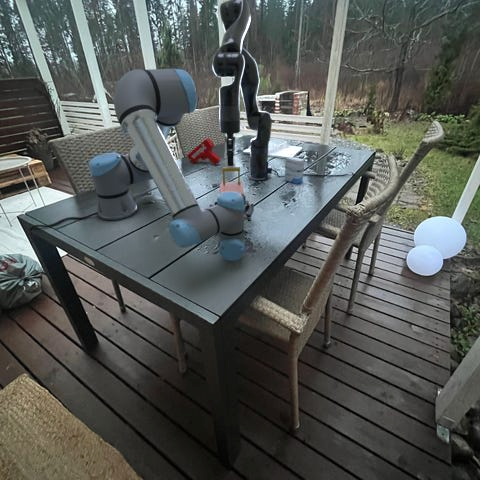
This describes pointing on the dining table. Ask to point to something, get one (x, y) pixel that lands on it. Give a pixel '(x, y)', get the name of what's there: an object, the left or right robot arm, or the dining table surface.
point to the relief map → (280, 150)
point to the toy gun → (204, 152)
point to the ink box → (294, 170)
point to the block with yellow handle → (231, 185)
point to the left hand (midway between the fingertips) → (231, 199)
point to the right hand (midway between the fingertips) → (230, 162)
